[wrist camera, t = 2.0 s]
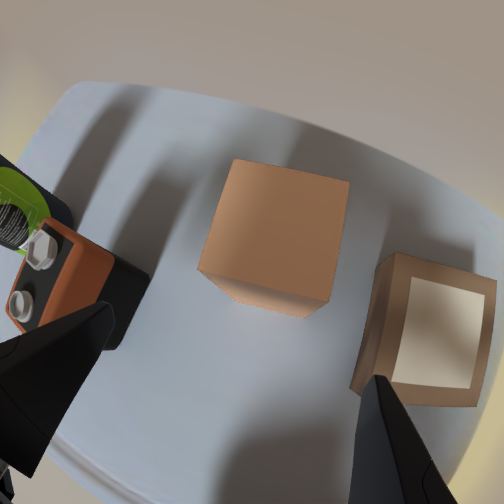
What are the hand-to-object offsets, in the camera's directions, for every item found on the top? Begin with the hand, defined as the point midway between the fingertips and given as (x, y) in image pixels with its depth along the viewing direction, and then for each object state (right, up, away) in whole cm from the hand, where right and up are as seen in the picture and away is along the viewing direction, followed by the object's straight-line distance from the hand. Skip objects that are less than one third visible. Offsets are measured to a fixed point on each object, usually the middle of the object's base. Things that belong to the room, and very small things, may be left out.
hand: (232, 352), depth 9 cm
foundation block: (+13, -3, +10) cm, 16 cm away
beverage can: (-19, +5, +15) cm, 25 cm away
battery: (-10, -1, +13) cm, 16 cm away
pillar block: (+3, +1, +12) cm, 12 cm away
